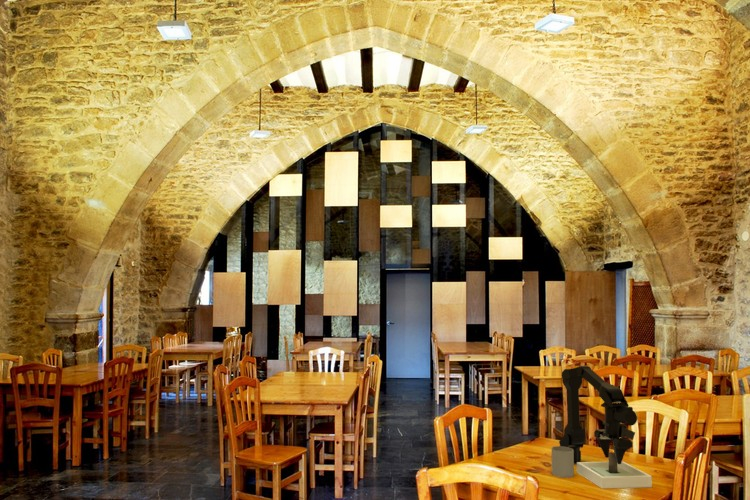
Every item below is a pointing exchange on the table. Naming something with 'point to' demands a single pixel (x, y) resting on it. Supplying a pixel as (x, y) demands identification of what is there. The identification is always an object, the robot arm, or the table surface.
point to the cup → (562, 461)
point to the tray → (615, 479)
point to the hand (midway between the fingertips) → (613, 460)
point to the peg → (612, 463)
